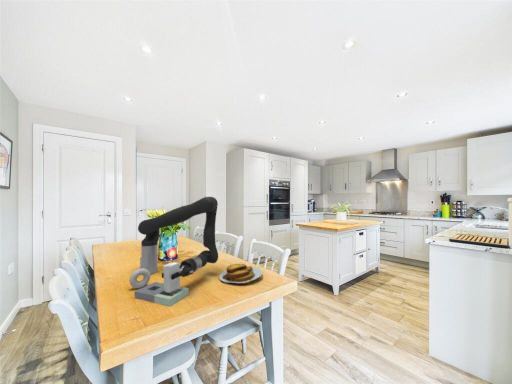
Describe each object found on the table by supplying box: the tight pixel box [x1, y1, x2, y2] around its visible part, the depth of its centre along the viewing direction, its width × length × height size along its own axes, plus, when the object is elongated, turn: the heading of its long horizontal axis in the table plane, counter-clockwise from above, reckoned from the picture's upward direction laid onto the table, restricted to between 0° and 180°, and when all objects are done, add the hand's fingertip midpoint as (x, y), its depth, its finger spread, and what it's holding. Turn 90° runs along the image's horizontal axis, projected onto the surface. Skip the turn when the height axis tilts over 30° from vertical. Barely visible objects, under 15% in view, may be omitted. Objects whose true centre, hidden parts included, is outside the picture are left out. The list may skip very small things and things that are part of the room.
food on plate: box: [218, 263, 263, 286], centre depth 126 cm, size 25×25×7 cm
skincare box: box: [162, 261, 181, 293], centre depth 100 cm, size 6×4×12 cm
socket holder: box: [134, 281, 190, 307], centre depth 102 cm, size 22×12×3 cm, turn 68°
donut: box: [129, 268, 151, 289], centre depth 112 cm, size 10×4×10 cm, turn 135°
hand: (167, 276), depth 98 cm, fingers closed on skincare box, 5 cm apart
